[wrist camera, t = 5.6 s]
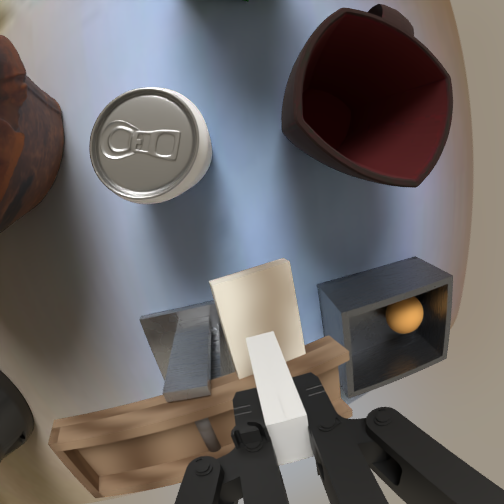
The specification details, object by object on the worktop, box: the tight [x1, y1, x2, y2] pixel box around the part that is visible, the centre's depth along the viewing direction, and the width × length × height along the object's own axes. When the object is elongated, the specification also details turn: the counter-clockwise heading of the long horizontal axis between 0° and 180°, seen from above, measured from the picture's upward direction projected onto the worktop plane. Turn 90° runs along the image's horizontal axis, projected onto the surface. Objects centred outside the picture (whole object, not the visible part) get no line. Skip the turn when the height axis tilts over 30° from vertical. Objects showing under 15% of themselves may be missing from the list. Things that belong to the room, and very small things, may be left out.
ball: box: [386, 296, 423, 334], centre depth 29 cm, size 4×4×4 cm
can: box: [90, 87, 212, 204], centre depth 20 cm, size 6×6×12 cm
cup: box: [281, 4, 453, 187], centre depth 20 cm, size 10×14×12 cm
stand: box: [140, 300, 235, 402], centre depth 25 cm, size 10×11×11 cm
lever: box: [48, 258, 352, 498], centre depth 19 cm, size 22×14×3 cm, turn 102°
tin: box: [317, 257, 453, 398], centre depth 28 cm, size 11×9×6 cm
